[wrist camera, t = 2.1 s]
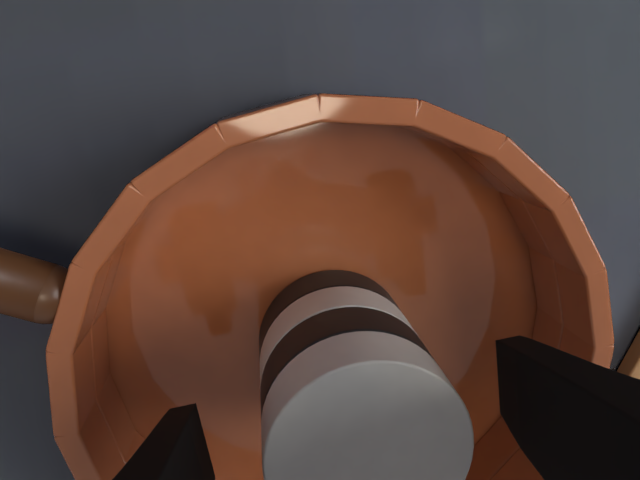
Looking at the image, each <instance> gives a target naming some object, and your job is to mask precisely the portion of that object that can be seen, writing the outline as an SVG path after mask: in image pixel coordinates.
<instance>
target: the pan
mask: <svg viewBox="0 0 640 480" xmlns="http://www.w3.org/2000/svg"><path fill="white" fill-rule="evenodd" d="M327 270H344V271H351V272H355V273H359V274H361V275H364V276H366V277H368V278H370V279H372V280H374V281H375V282H377V283H378V284H379V285H380V286H382V287H383V288H384V289H385V290H386V291H387V292H388V293H389V295H390V296H391V297H392V299H393V300H394V302H395V303H396V304H397V306H398V307H399V309H400V310H401V312H402V313H403V315H404V316H405V318H406V319H407V320H408V322H409V323H410V325H411V326H412V328H413V329H414V331H415V332H416V333H417V335H418V336H419V338H420V339H421V341H422V342H423V344H424V345H425V347H426V348H427V349H428V351H429V352H430V354H431V355H432V357H433V358H434V360H435V361H436V362H437V364H438V365H439V367H440V368H441V370H442V371H443V373H444V374H445V376H446V377H447V378H448V380H449V381H450V383H451V384H452V386H453V387H454V389H455V390H456V391H457V393H458V394H459V396H460V397H461V399H462V400H463V402H464V404H465V406H466V408H467V410H468V412H469V415H470V418H471V421H472V426H473V432H474V450H473V457H472V462H471V465H470V469H469V472H468V474H467V476H466V479H465V480H544V479H543V478H542V476H541V475H540V474H539V472H538V471H537V470H536V468H535V467H534V466H533V465H532V463H531V462H530V461H529V459H528V458H527V457H526V455H525V454H524V453H523V451H522V450H521V448H520V447H519V445H518V443H517V442H516V440H515V438H514V437H513V435H512V433H511V432H510V430H509V428H508V426H507V424H506V423H505V421H504V419H503V417H502V415H501V414H500V403H499V388H498V372H497V357H496V342H495V340H500V339H504V338H509V337H514V336H519V335H520V336H524V337H527V338H530V339H533V340H536V341H538V342H541V343H544V344H546V345H549V346H551V347H554V348H556V349H559V350H561V351H564V352H566V353H569V354H571V355H574V356H577V357H579V358H582V359H584V360H587V361H589V362H592V363H595V364H597V365H600V366H603V367H605V368H608V369H610V364H611V360H612V355H613V351H614V345H613V344H614V334H613V325H612V316H611V306H610V297H609V287H608V278H607V270H606V268H605V264H604V262H603V260H602V258H601V256H600V254H599V252H598V250H597V248H596V246H595V244H594V242H593V240H592V238H591V236H590V234H589V232H588V230H587V228H586V225H585V223H584V221H583V219H582V217H581V215H580V213H579V211H578V209H577V207H576V205H575V203H574V201H573V199H572V197H571V196H569V193H568V192H567V191H566V190H565V189H564V188H563V187H562V186H561V185H560V184H558V183H557V182H556V181H555V180H554V179H553V178H552V177H551V176H550V175H549V174H548V173H547V172H546V171H545V170H543V169H542V168H541V167H540V166H539V165H538V164H537V163H536V162H535V161H534V160H533V159H532V158H531V157H530V156H528V155H527V154H526V153H525V152H524V151H523V150H522V149H521V148H520V147H519V146H518V145H517V144H516V143H515V142H513V141H512V140H511V139H510V138H509V137H507V136H505V135H504V134H503V133H500V132H498V131H496V130H493V129H491V128H488V127H486V126H484V125H481V124H479V123H476V122H474V121H472V120H469V119H467V118H464V117H462V116H460V115H457V114H455V113H452V112H450V111H448V110H445V109H443V108H440V107H438V106H436V105H433V104H431V103H428V102H426V101H424V100H418V99H415V98H396V97H378V96H359V95H341V94H322V93H319V94H303V95H299V96H295V97H292V98H288V99H285V100H281V101H278V102H274V103H271V104H267V105H264V106H260V107H256V108H253V109H249V110H246V111H242V112H239V113H235V114H232V115H228V116H225V117H224V118H221V119H219V120H218V121H216V122H215V123H213V124H212V125H210V126H209V127H208V128H206V129H205V130H203V131H202V132H200V133H199V134H197V135H196V136H194V137H193V138H192V139H190V140H189V141H187V142H186V143H184V144H183V145H181V146H180V147H178V148H177V149H175V150H174V151H173V152H171V153H170V154H168V155H167V156H165V157H164V158H162V159H161V160H159V161H158V162H157V163H155V164H154V165H152V166H151V167H149V168H148V169H146V170H145V171H144V172H142V173H141V174H139V175H138V176H136V177H135V178H133V179H132V180H131V182H130V183H128V184H127V185H126V186H125V188H124V189H123V190H122V192H121V193H120V195H119V196H118V197H117V199H116V200H115V201H114V203H113V204H112V206H111V207H110V208H109V210H108V211H107V212H106V214H105V215H104V216H103V218H102V219H101V221H100V222H99V223H98V225H97V226H96V227H95V229H94V230H93V232H92V233H91V234H90V236H89V237H88V238H87V240H86V241H85V243H84V244H83V245H82V247H81V248H80V249H79V251H78V252H77V253H76V255H75V256H74V258H73V259H72V262H71V263H70V265H69V268H68V271H67V275H66V278H65V282H64V286H63V289H62V293H61V296H60V300H59V304H58V308H57V311H56V314H55V318H54V321H53V325H52V328H51V332H50V335H49V339H48V343H47V346H46V364H47V375H48V385H49V395H50V405H51V415H52V425H53V435H54V436H55V437H54V439H55V441H56V443H57V445H58V447H59V449H60V451H61V453H62V455H63V457H64V459H65V461H66V463H67V465H68V467H69V469H70V471H71V473H72V475H73V477H74V479H75V480H112V479H113V478H114V477H115V476H116V475H117V474H118V472H119V471H120V470H121V469H122V468H123V467H124V466H125V464H126V463H127V462H128V461H129V459H130V458H131V457H132V456H133V454H134V453H135V452H136V451H137V449H138V448H139V447H140V446H141V444H142V443H143V442H144V441H145V439H146V438H147V437H148V435H149V434H150V433H151V431H152V430H153V429H154V428H155V426H156V425H157V424H158V422H159V421H160V420H161V418H162V417H163V416H164V415H165V413H166V412H167V411H168V410H169V409H171V408H175V407H180V406H185V405H190V404H194V403H196V405H197V409H198V413H199V417H200V420H201V424H202V428H203V432H204V436H205V439H206V443H207V447H208V451H209V454H210V458H211V462H212V466H213V470H214V473H215V480H264V477H263V471H262V440H261V400H260V361H259V334H260V327H261V324H262V320H263V317H264V315H265V313H266V311H267V309H268V307H269V306H270V304H271V303H272V301H273V300H274V299H275V298H276V296H277V295H278V294H279V293H280V292H281V291H282V290H283V289H285V288H286V287H287V286H289V285H290V284H291V283H293V282H294V281H296V280H298V279H300V278H302V277H304V276H307V275H309V274H312V273H316V272H320V271H327Z"/></svg>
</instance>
